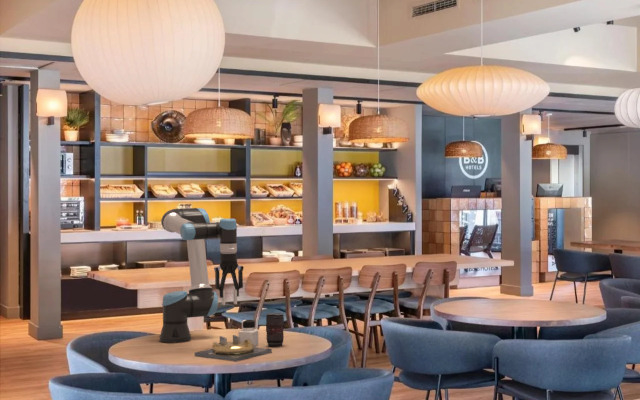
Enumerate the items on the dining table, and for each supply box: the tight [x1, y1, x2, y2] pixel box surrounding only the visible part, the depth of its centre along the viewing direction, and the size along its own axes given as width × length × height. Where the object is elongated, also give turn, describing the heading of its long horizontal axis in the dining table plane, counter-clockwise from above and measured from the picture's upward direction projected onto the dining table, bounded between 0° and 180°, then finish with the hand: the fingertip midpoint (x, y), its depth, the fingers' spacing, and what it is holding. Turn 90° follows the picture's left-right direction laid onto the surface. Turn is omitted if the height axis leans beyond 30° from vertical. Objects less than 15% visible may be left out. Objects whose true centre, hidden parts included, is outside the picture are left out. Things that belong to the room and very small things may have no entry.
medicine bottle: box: [238, 319, 259, 347], centre depth 426 cm, size 7×7×12 cm
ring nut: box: [212, 334, 254, 354], centre depth 405 cm, size 18×18×5 cm
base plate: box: [194, 346, 273, 362], centre depth 405 cm, size 24×24×2 cm
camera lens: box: [265, 312, 285, 348], centre depth 424 cm, size 8×8×15 cm
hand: (229, 304), depth 415 cm, fingers open, 5 cm apart
